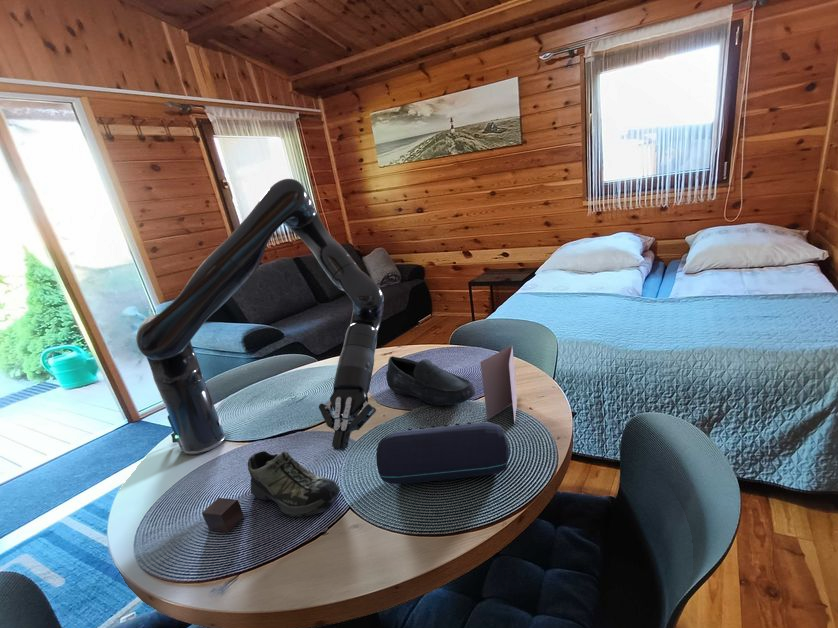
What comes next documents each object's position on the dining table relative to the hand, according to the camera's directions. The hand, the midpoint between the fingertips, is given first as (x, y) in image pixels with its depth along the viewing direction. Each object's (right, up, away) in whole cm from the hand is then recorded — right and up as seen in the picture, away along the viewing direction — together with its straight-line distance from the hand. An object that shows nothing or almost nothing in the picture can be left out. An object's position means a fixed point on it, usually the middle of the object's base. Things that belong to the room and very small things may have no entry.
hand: (338, 450), depth 88 cm
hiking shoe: (-7, -8, -4) cm, 12 cm away
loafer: (+16, +8, +30) cm, 35 cm away
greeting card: (+37, +5, +16) cm, 41 cm away
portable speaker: (+22, -4, -3) cm, 23 cm away
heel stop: (-18, -11, -9) cm, 23 cm away
